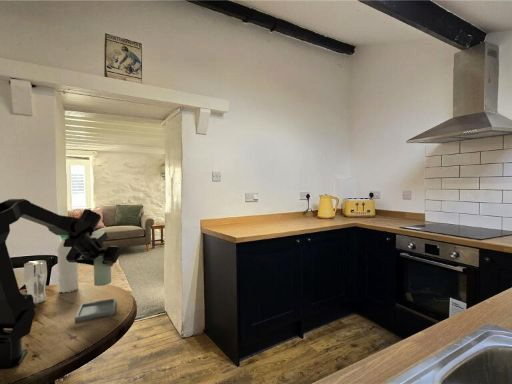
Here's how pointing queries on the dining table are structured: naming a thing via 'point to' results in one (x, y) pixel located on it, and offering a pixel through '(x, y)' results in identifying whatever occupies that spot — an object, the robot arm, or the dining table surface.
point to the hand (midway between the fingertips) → (104, 265)
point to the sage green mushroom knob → (101, 272)
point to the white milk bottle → (66, 269)
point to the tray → (96, 310)
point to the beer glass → (36, 279)
